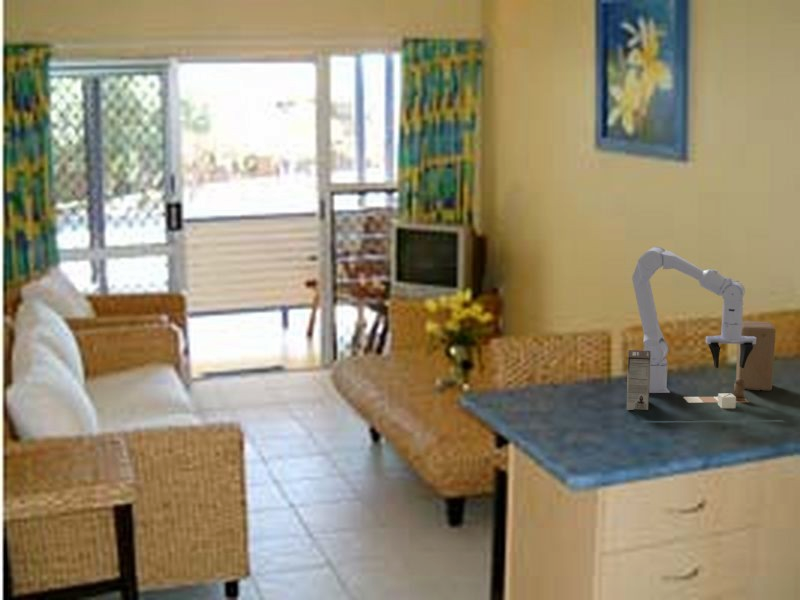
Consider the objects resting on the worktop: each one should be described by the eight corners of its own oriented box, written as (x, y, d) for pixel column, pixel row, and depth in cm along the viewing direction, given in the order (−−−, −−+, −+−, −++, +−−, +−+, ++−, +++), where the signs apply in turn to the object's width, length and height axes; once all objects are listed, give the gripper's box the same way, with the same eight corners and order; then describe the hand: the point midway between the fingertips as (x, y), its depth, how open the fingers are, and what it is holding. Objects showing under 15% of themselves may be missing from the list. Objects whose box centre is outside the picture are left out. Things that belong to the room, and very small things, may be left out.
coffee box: (626, 401, 333) (628, 349, 330) (648, 403, 332) (650, 350, 329) (626, 410, 325) (628, 356, 322) (648, 411, 323) (651, 357, 320)
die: (721, 410, 325) (722, 397, 324) (717, 406, 329) (718, 393, 328) (735, 410, 325) (736, 397, 324) (731, 406, 329) (731, 393, 328)
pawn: (734, 401, 332) (735, 380, 330) (730, 397, 335) (731, 376, 334) (747, 401, 332) (748, 379, 330) (742, 397, 335) (744, 376, 334)
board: (688, 404, 331) (688, 402, 330) (683, 398, 337) (683, 396, 336) (749, 404, 331) (749, 402, 331) (742, 398, 337) (742, 396, 337)
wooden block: (772, 391, 344) (776, 328, 340) (738, 390, 346) (741, 326, 342) (768, 383, 354) (772, 321, 350) (735, 381, 355) (738, 320, 352)
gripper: (711, 325, 328) (708, 370, 331) (760, 325, 328) (757, 370, 331) (704, 320, 335) (701, 364, 338) (753, 320, 335) (750, 364, 338)
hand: (729, 367), depth 335 cm, fingers open, 7 cm apart
